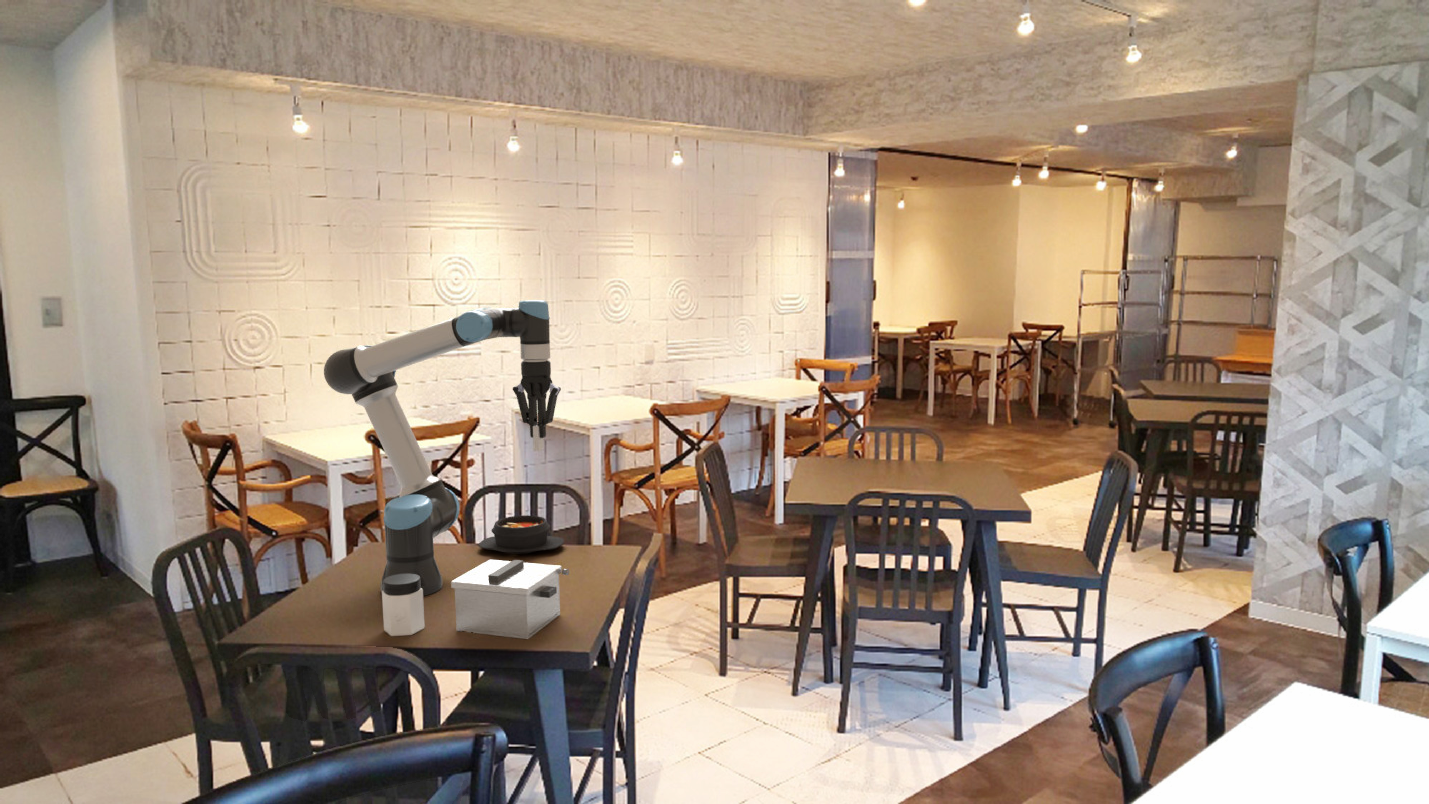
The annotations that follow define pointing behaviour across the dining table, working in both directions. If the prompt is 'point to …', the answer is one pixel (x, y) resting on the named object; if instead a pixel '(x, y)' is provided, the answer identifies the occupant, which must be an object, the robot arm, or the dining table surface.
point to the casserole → (521, 535)
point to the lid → (507, 577)
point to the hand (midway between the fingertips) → (538, 449)
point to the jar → (403, 604)
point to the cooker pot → (508, 610)
